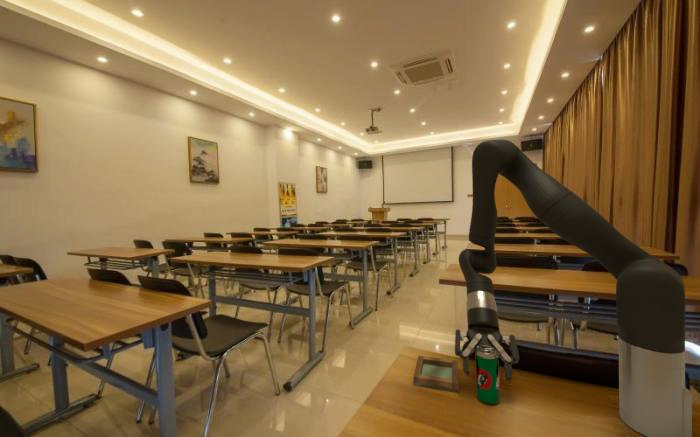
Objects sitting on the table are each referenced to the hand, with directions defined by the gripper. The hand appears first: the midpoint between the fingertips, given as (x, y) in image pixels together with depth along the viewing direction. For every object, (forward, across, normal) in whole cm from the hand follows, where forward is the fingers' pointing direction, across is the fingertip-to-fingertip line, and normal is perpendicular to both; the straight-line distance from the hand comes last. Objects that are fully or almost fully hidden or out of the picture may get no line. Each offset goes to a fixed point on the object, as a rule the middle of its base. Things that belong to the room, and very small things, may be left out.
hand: (487, 378), depth 67 cm
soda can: (+3, 0, +5) cm, 6 cm away
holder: (-1, -12, +9) cm, 15 cm away
